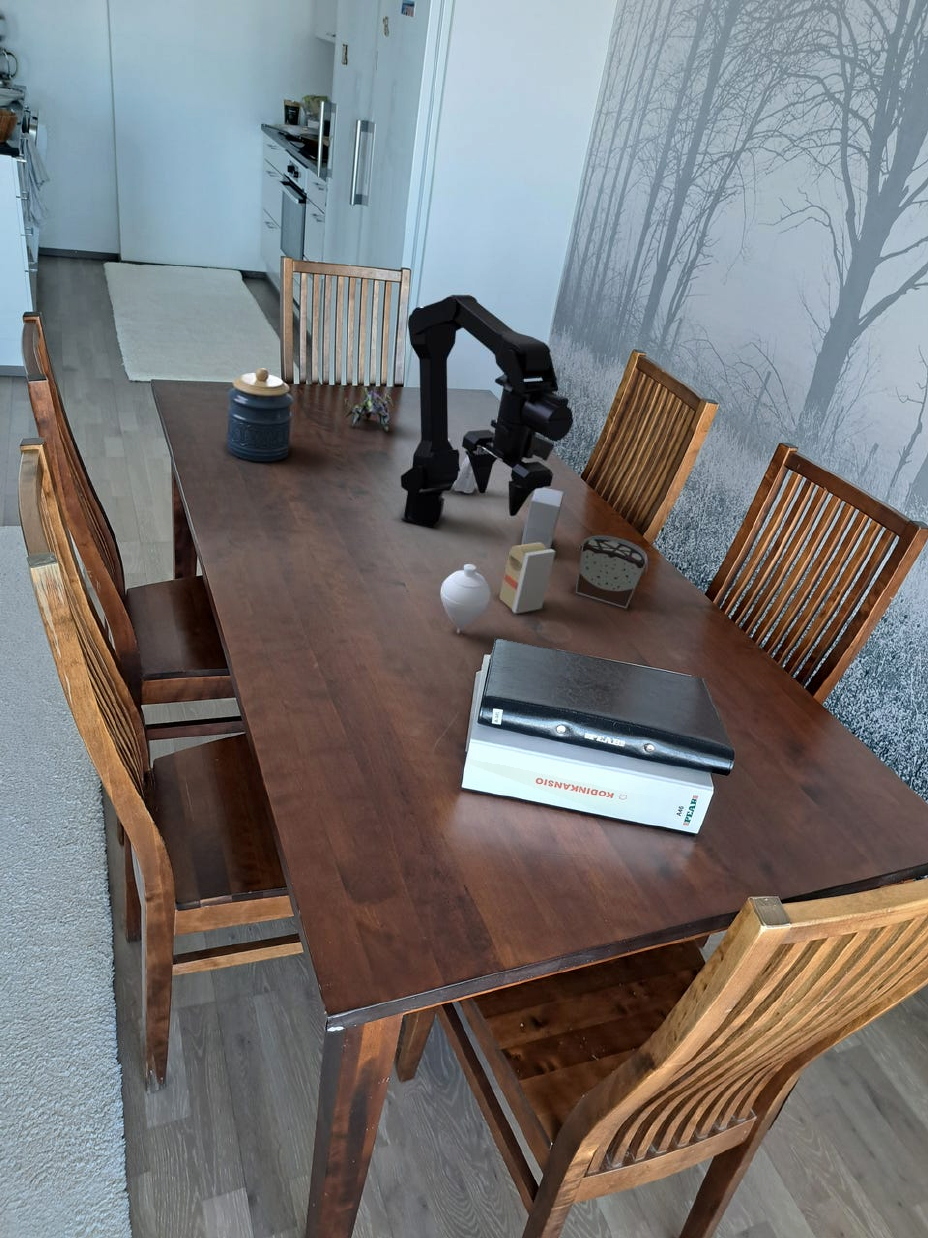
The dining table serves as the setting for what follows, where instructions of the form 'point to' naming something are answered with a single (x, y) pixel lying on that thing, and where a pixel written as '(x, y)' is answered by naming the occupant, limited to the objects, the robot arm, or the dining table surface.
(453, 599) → the spinning top
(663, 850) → the dining table surface
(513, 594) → the cream two-tone block
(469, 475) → the shaker set
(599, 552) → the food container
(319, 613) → the dining table surface
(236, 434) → the canister
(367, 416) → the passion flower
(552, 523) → the small box
